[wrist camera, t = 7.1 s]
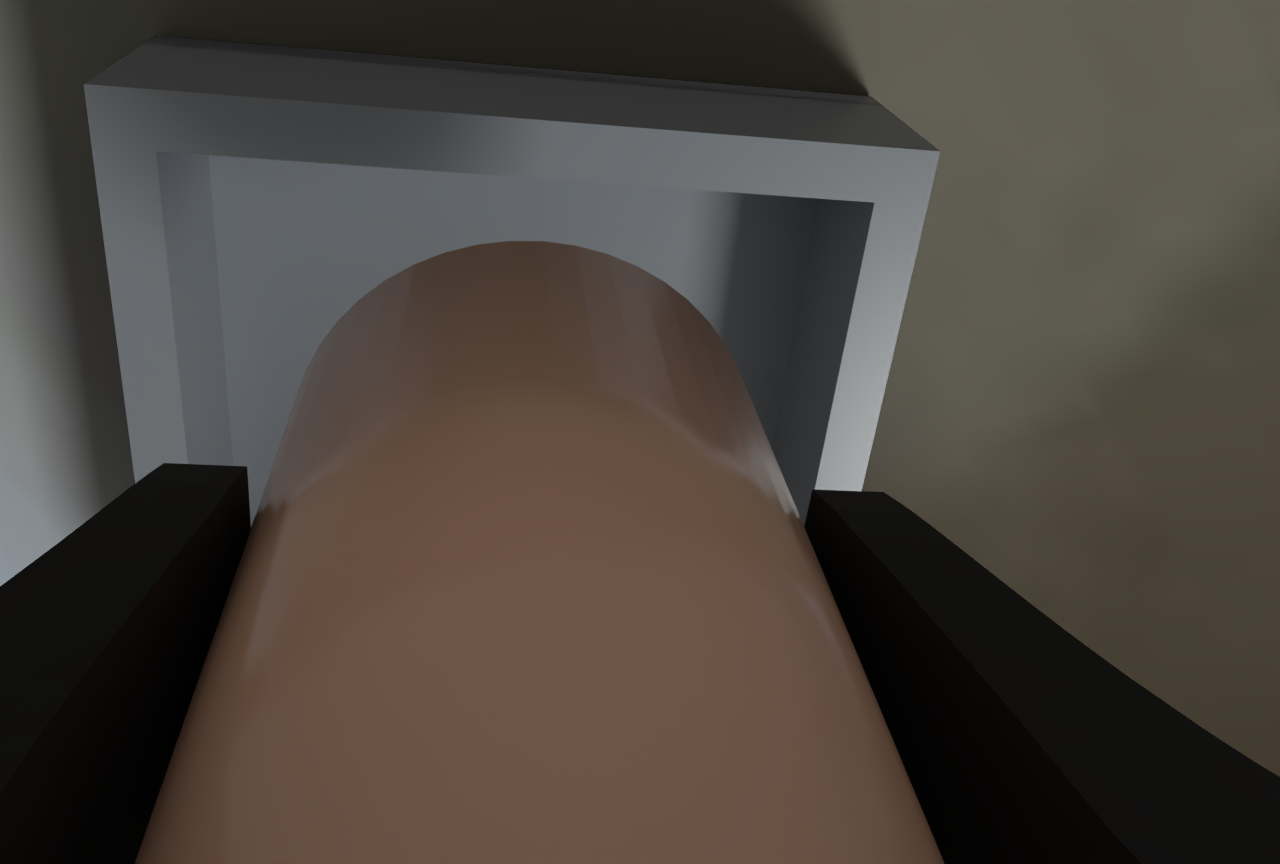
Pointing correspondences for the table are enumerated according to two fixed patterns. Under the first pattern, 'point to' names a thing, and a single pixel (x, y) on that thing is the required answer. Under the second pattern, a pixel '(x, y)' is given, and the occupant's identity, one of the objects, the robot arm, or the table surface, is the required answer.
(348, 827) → the cup
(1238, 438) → the table surface
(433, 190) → the tray
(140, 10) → the table surface
